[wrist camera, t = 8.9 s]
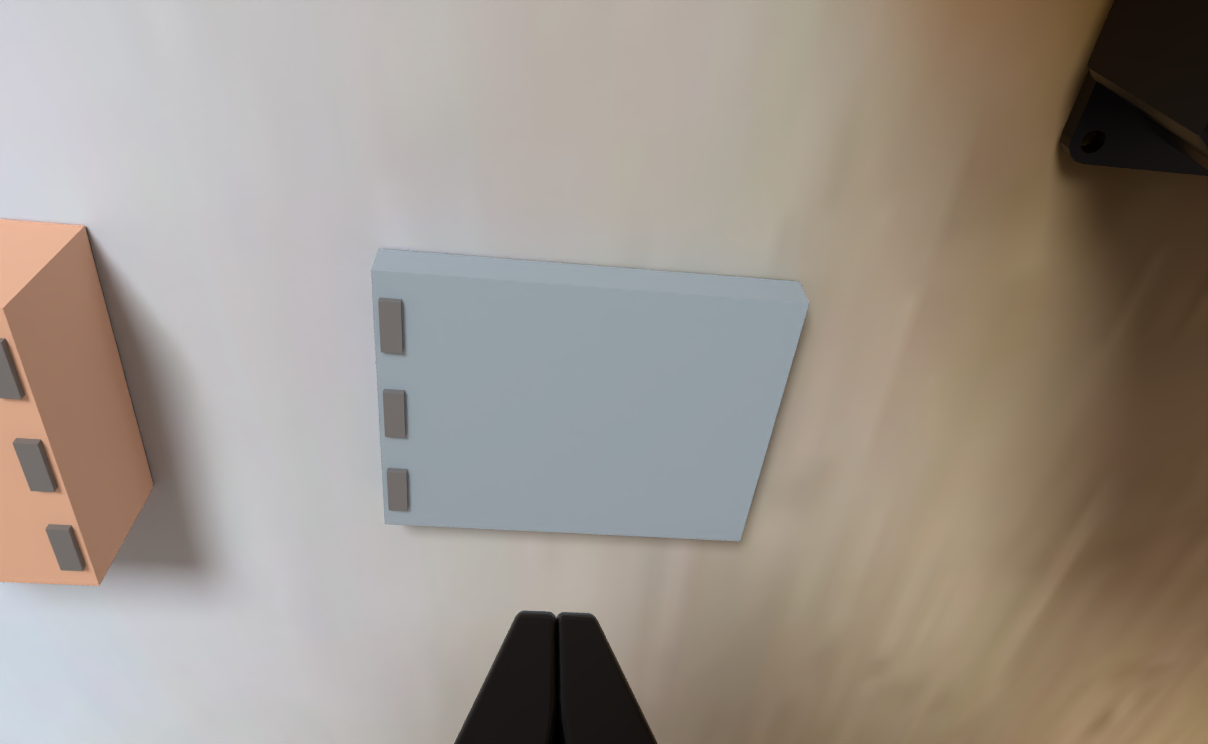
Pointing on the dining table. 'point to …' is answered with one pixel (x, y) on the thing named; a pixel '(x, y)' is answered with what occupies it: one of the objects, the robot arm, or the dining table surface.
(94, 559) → the stub
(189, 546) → the dining table surface
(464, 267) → the blue-grey flat panel
